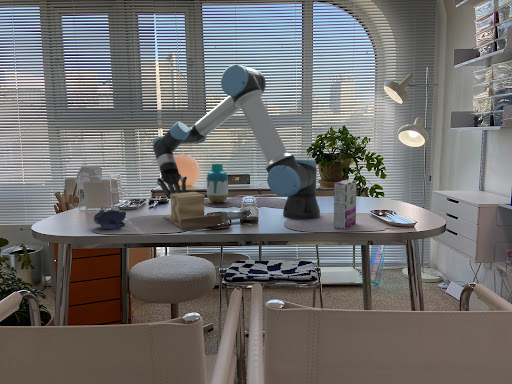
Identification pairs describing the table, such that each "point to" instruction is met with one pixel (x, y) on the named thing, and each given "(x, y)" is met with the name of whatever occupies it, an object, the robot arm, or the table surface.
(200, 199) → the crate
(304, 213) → the robot arm
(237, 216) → the winch
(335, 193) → the candy bar box
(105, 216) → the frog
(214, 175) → the vase
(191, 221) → the brown flat slab
